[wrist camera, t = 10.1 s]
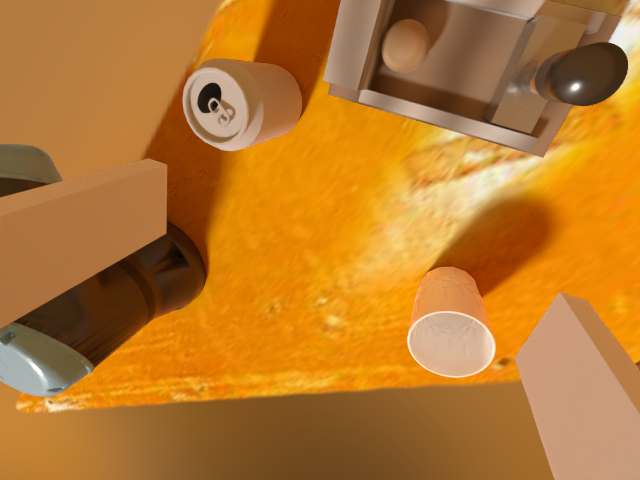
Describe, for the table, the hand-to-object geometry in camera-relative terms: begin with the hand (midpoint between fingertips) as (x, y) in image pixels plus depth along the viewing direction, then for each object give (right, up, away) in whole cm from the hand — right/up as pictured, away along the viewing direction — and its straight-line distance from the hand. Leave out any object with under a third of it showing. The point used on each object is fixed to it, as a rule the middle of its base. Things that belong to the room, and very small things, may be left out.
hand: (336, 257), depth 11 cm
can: (-6, +16, +27) cm, 32 cm away
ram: (+16, +14, +18) cm, 28 cm away
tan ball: (+8, +18, +19) cm, 27 cm away
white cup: (+15, -5, +30) cm, 34 cm away
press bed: (+12, +17, +21) cm, 29 cm away
